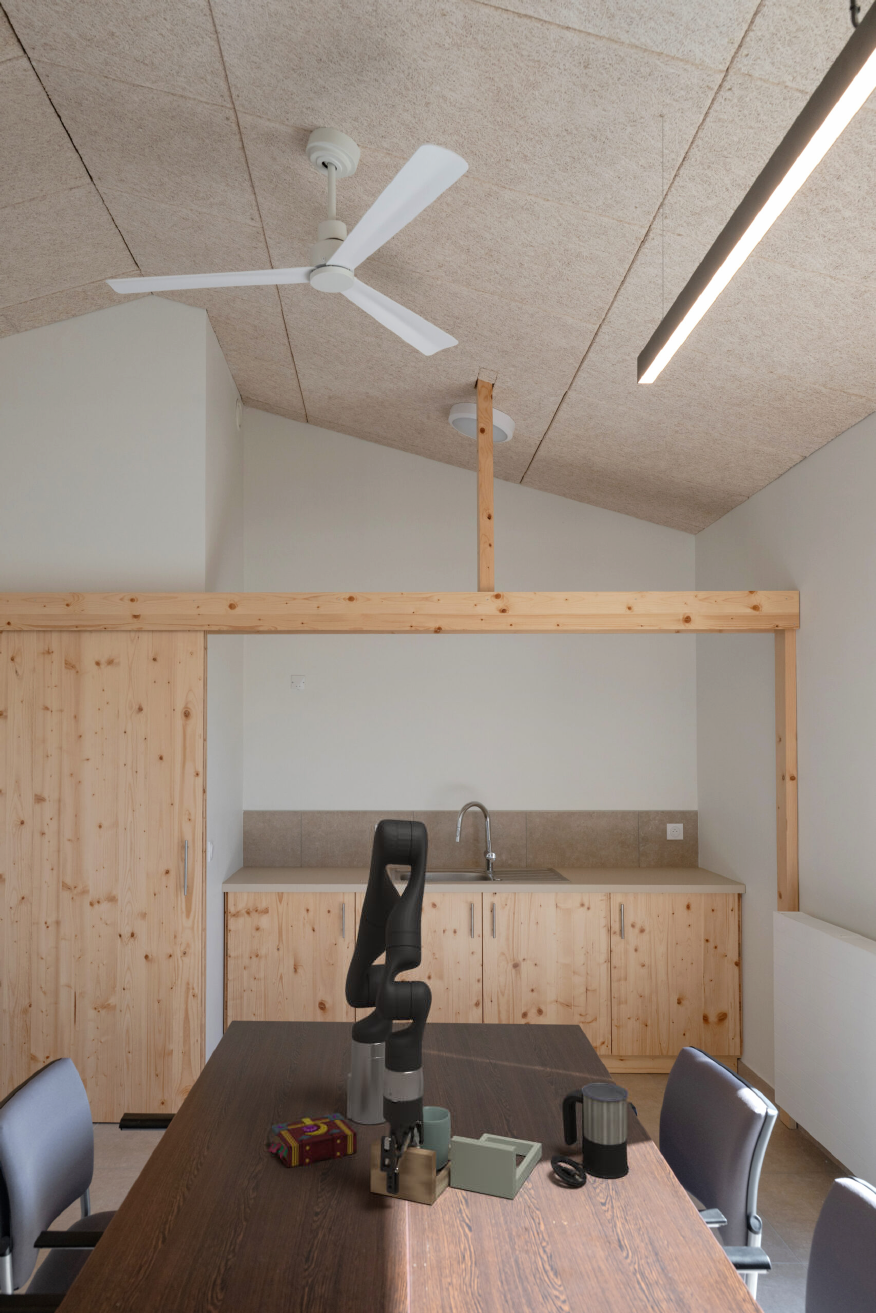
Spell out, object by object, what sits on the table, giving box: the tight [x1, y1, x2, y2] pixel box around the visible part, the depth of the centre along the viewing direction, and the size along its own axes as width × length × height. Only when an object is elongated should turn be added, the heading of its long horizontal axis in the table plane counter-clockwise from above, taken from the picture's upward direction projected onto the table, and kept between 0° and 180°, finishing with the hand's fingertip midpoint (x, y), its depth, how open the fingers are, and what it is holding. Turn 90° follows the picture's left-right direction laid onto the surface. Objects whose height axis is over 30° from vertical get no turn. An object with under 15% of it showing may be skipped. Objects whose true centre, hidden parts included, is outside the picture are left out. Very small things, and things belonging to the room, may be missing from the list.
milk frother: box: [549, 1082, 630, 1186], centre depth 175 cm, size 14×16×15 cm
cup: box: [417, 1105, 451, 1171], centre depth 178 cm, size 8×8×10 cm
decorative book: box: [268, 1112, 358, 1168], centre depth 184 cm, size 11×16×5 cm
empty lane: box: [449, 1133, 543, 1200], centre depth 176 cm, size 12×19×8 cm, turn 157°
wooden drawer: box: [370, 1139, 451, 1205], centre depth 173 cm, size 12×19×8 cm, turn 157°
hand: (402, 1182), depth 165 cm, fingers open, 8 cm apart
